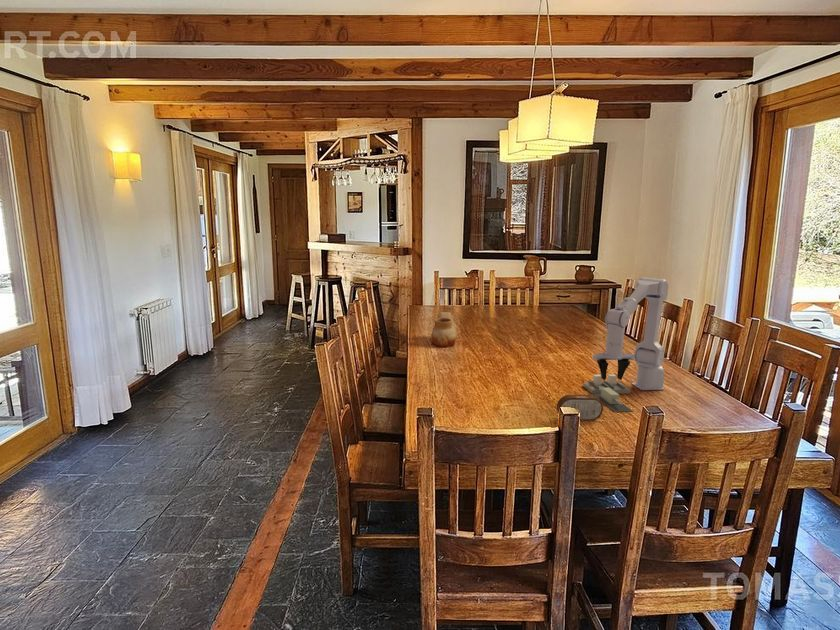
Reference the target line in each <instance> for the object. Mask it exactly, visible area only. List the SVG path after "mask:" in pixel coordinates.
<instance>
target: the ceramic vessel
mask: <svg viewBox="0 0 840 630" xmlns="http://www.w3.org/2000/svg"><path fill="white" fill-rule="evenodd" d="M458 332H459V331H458V327H457V324H456V323H455V321H454V318H453V316H452V312H449V311H444V312H443V311H440V312H438V315H437V318H435V319H434V325H433V327H432V331H431V334H430V336H431V337H430V342H431V344H432V345H433V346H435V347H438V348H445V349H446V348H448V347H454V346H455V345H456V341H457V339H458Z"/></svg>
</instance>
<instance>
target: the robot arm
mask: <svg viewBox="0 0 840 630" xmlns="http://www.w3.org/2000/svg"><path fill="white" fill-rule="evenodd" d="M635 285H636V286H635V289H634V290H633V292H632V293H631V295H629V297H628V296H627V297H624V298H623V299H621V301H620V302H619V304H617V305H616V306H615V308H610V309H609V310H608V311H607V312H606V313H605V317H604V322H605V324H606V325H605V329H606V331H607V332H606V342H605V344H606V345H605V352H603V353H602V352H601V353H593V354H592V360H594V361H596V362H597V364H598V368H599V370H600V371H599V372H600V375H601V378H602V381H603V380H605V381H607V380H606V379H607V371H608V368H609V362H608V361H617V375H616V376H617V379H618V380H622V379H623V377H624V374H625V372H626V371H627V369H628V367H629V366H630V365H631V361H635V363H636V365H637V371H636V372H637V373H636V382H631V384H632V385H633V386H635V388H638V389H639V390H641V391H652V390H654V391H658V390H659V391H661V390H665V388H664V381H665V370H664V369H665V368H663V366H662V365H663V363H664V361H665V355H664V351H665V350H664V347H663V346H662V345H661V344H660V343H659V341H658V339H659V333H660V325H661V318H662V309H663V305H664V301H666V300H667V298H668V292H669V283H668V281H667V280H666V279H665V278H661V279H660V278H653V277H652V278H651V277H645V276H641V277H639V278H638V279H637V281H636V284H635ZM643 299H646V300H647V302H648V304H647V312H646V320H645V327H644V333H643V334H644V335H643V340H642V341H640V342H638V343H637V344H636V347H635V350H634V352H633V353H623V350H624V340H625V329H626V327H627V325H628V324H629V321H630V319H631V315H633V313H634V312H635V311H637V309H638V304H639V303H640V302H641V301H642V300H643Z"/></svg>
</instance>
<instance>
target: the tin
mask: <svg viewBox="0 0 840 630" xmlns="http://www.w3.org/2000/svg"><path fill="white" fill-rule="evenodd" d="M560 407H571V408H575V409H578V410H579V412H580V421H587V422H589V421H590V422H591V421H595V420H597V419H599V418H600V417H601V416H602V414H603V412H604V404H603V403H602V402H601V401H600V400H599V398H597V397H596V396H594V395H593V394H566V395H562V397H561V398H560V399H559V400H558V401H557V403H556V411H557V413H558V412H559V408H560Z"/></svg>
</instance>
